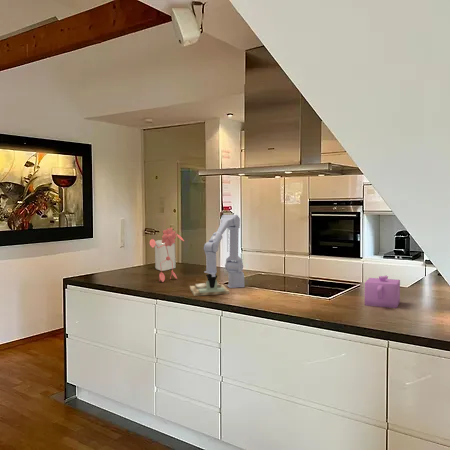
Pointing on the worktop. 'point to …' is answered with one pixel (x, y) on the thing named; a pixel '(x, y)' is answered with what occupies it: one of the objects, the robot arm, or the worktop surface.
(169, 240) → the figurine
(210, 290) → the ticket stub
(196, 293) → the board
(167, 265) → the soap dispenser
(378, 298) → the teapot
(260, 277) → the worktop surface
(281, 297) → the worktop surface
